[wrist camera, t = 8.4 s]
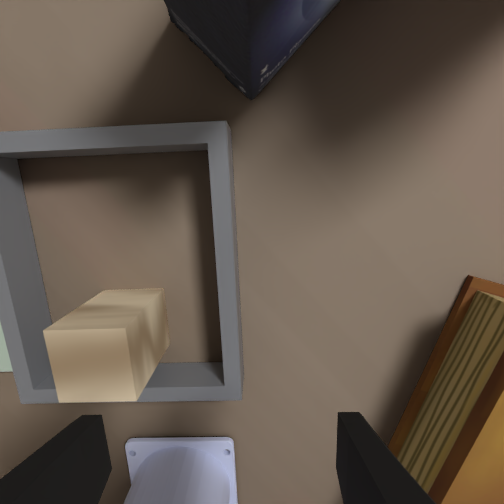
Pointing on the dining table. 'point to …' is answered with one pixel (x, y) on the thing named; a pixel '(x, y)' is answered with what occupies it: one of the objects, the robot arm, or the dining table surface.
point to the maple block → (108, 346)
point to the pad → (4, 354)
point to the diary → (460, 405)
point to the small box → (249, 34)
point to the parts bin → (30, 278)
